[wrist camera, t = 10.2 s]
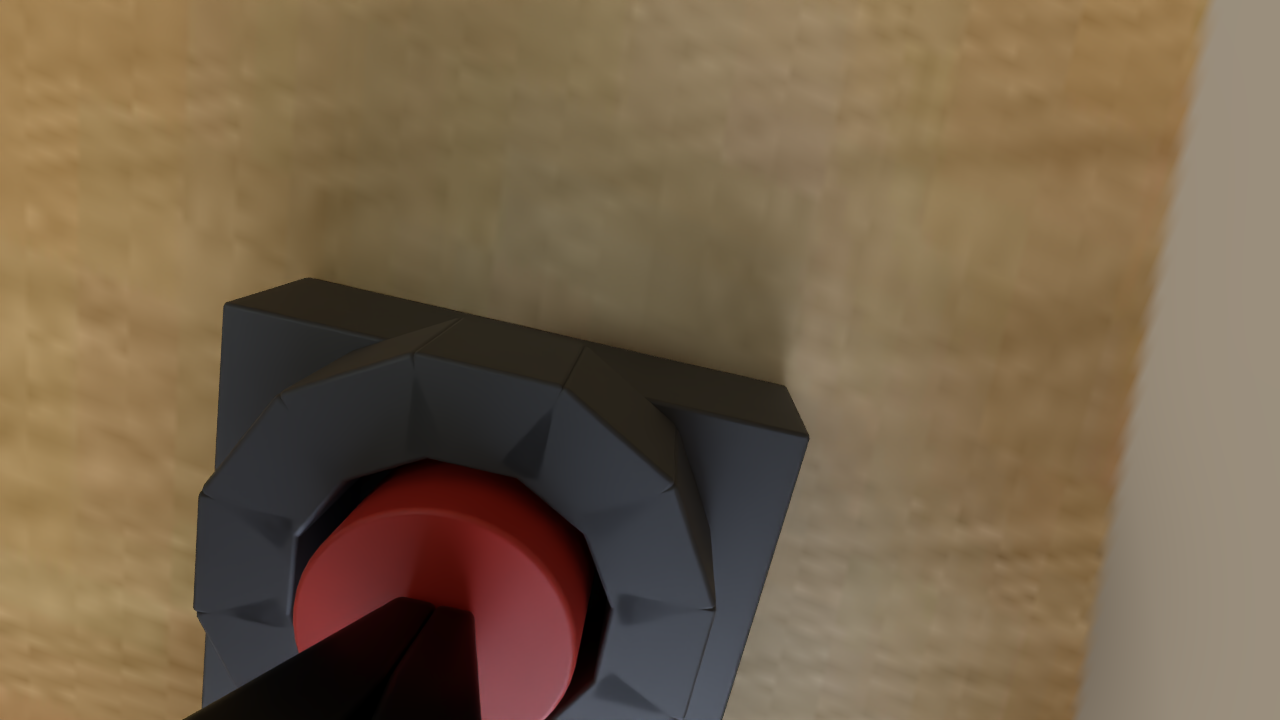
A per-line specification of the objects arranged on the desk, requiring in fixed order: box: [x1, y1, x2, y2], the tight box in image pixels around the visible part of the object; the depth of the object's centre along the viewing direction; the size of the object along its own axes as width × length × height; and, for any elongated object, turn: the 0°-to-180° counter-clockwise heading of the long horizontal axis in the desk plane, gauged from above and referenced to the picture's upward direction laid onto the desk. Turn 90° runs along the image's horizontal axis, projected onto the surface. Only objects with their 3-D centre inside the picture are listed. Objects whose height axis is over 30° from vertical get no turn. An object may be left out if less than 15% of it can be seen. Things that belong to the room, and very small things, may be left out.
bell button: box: [293, 458, 594, 720], centre depth 9 cm, size 3×3×2 cm
